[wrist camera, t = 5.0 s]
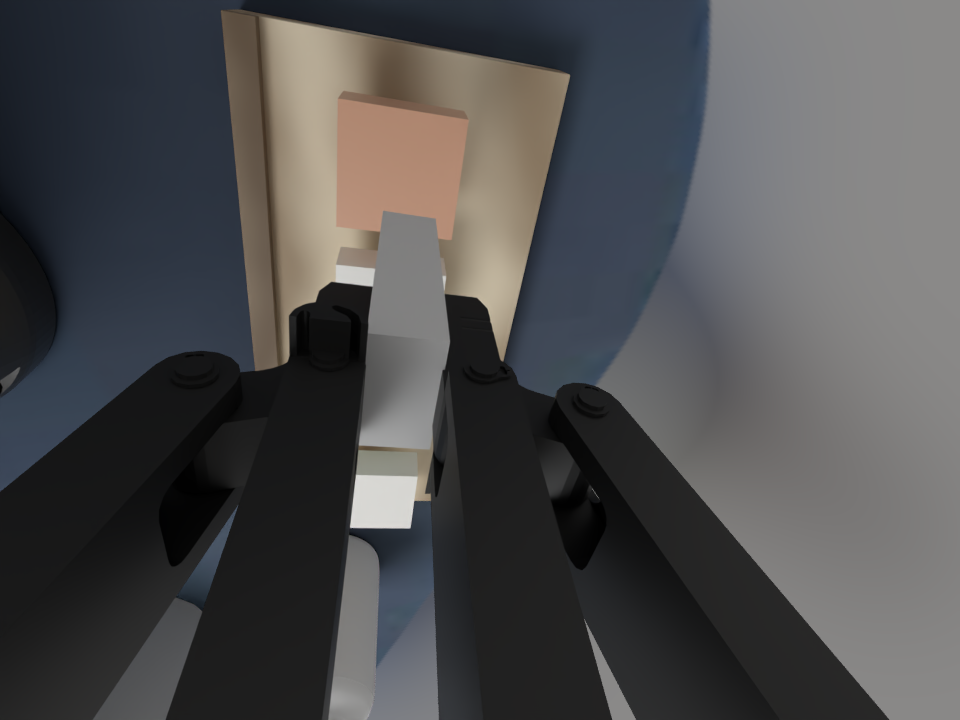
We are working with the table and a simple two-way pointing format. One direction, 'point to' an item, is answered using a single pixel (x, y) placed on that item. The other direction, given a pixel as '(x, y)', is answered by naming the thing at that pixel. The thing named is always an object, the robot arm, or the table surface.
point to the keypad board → (313, 165)
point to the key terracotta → (397, 161)
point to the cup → (154, 668)
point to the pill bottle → (356, 635)
